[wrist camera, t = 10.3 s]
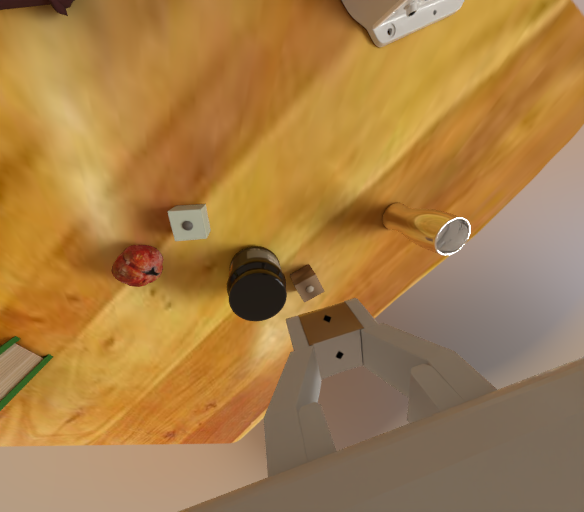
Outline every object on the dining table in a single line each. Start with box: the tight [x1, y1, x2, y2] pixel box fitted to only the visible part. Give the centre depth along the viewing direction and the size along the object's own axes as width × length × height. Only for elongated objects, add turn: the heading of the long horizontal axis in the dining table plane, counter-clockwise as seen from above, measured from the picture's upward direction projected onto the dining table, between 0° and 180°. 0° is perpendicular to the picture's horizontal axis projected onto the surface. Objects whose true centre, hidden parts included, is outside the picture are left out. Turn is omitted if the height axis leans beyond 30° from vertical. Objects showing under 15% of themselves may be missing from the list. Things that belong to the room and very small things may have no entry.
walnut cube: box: [290, 264, 324, 302], centre depth 47 cm, size 5×5×5 cm
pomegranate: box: [112, 245, 163, 287], centre depth 37 cm, size 7×7×10 cm
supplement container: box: [227, 246, 287, 321], centre depth 40 cm, size 10×10×12 cm
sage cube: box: [167, 204, 210, 241], centre depth 37 cm, size 5×5×5 cm
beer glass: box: [382, 203, 471, 256], centre depth 41 cm, size 7×7×15 cm
